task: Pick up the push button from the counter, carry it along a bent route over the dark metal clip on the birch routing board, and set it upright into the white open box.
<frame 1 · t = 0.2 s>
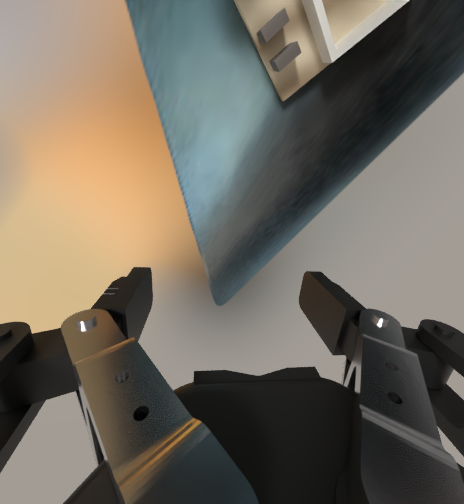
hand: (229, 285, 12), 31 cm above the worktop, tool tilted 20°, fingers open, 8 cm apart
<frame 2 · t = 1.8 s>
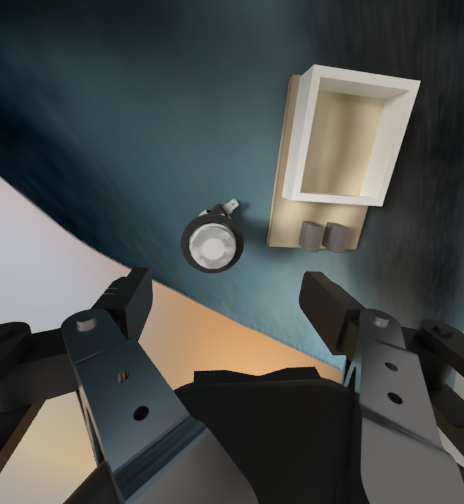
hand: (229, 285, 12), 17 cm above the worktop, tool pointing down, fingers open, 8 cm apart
white open box: (335, 146, 25), resting on routing board
push button: (214, 217, 27), on the worktop
routing board: (324, 174, 27), on the worktop
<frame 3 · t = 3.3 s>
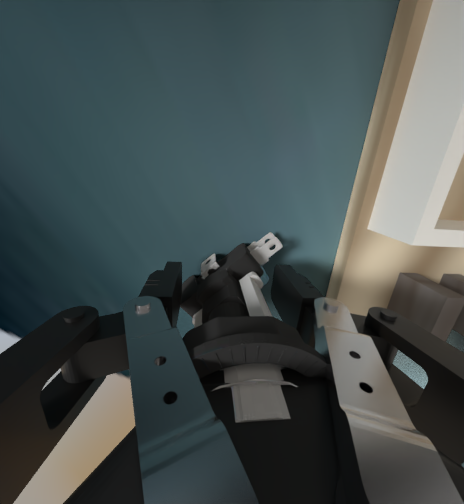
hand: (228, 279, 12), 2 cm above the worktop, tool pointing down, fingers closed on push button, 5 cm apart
push button: (230, 266, 14), on the worktop, touching gripper
routing board: (445, 184, 14), on the worktop
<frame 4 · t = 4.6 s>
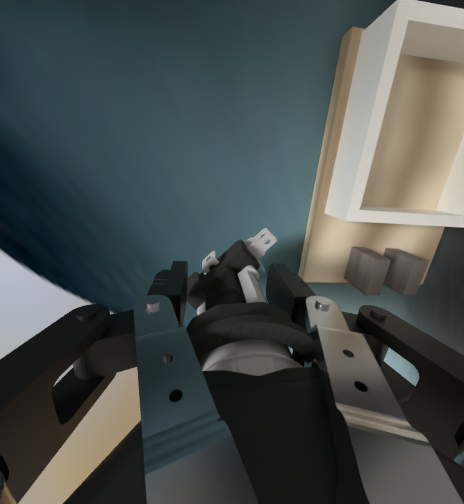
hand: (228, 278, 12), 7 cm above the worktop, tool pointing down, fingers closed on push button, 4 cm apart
white open box: (407, 140, 17), resting on routing board
push button: (229, 261, 15), point 4 cm above the worktop, touching gripper
routing board: (383, 181, 19), on the worktop
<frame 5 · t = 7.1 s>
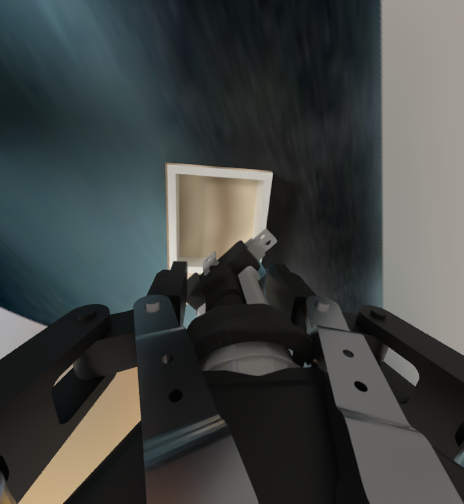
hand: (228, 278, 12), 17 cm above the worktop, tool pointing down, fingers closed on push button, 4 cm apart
white open box: (217, 219, 27), resting on routing board
push button: (230, 262, 15), point 14 cm above the worktop, touching gripper
routing board: (215, 240, 29), on the worktop
when the fingers open (5 cm above the worktop, at t = 9.6 s): push button stays where it is, resting on routing board.
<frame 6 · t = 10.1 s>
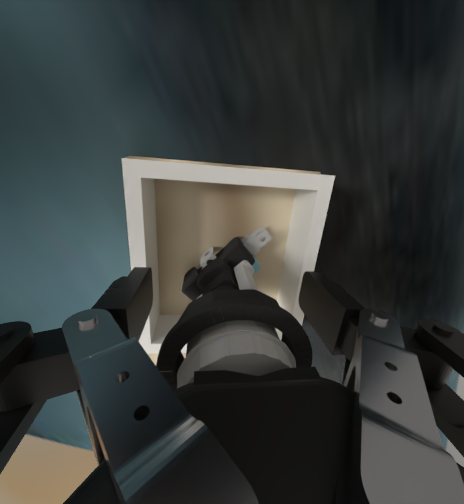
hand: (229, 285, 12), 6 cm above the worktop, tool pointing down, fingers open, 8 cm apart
white open box: (223, 255, 16), resting on routing board
push button: (227, 258, 16), point 1 cm above the worktop, touching routing board
routing board: (219, 284, 18), on the worktop
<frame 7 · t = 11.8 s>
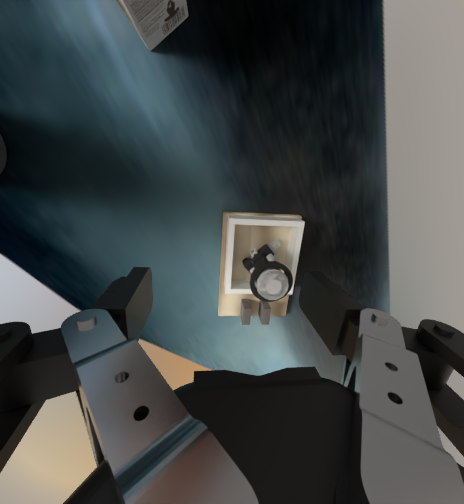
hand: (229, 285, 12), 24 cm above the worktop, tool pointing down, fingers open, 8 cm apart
white open box: (259, 252, 35), resting on routing board
push button: (260, 253, 36), point 1 cm above the worktop, touching routing board
routing board: (256, 266, 37), on the worktop
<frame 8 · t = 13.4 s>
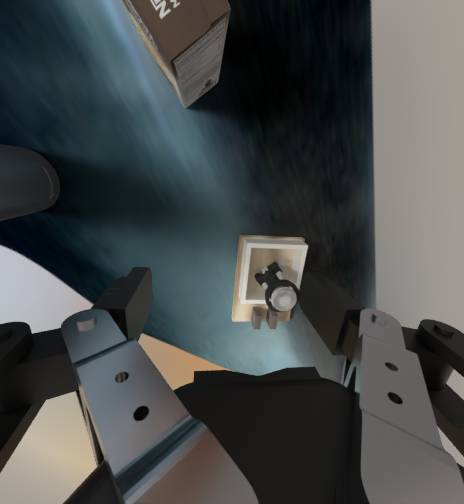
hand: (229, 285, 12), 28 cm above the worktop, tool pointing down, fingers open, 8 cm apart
white open box: (268, 268, 42), resting on routing board
push button: (269, 269, 42), point 1 cm above the worktop, touching routing board
coffee box: (183, 64, 31), on the worktop
routing board: (265, 279, 44), on the worktop
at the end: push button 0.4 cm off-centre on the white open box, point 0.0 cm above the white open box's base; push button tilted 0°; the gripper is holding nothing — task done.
